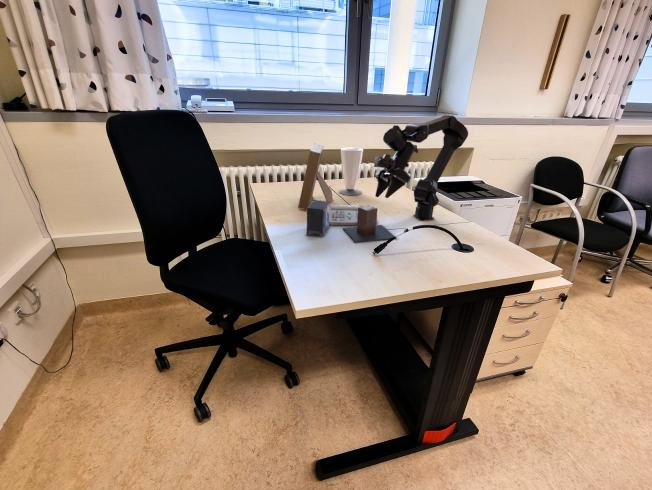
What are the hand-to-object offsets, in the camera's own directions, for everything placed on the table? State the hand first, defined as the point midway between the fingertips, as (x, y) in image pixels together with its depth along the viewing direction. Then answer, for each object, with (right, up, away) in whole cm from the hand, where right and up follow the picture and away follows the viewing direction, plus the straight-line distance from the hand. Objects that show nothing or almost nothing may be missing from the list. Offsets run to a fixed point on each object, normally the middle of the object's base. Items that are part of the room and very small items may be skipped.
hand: (381, 197), depth 125 cm
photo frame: (-26, +6, +35) cm, 44 cm away
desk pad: (-4, -13, +2) cm, 14 cm away
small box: (-23, -12, +3) cm, 27 cm away
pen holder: (-5, -13, +2) cm, 14 cm away
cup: (-9, +16, +54) cm, 57 cm away
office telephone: (-10, -3, +19) cm, 22 cm away
